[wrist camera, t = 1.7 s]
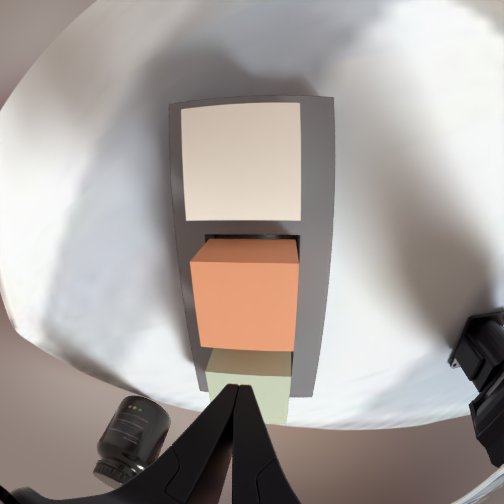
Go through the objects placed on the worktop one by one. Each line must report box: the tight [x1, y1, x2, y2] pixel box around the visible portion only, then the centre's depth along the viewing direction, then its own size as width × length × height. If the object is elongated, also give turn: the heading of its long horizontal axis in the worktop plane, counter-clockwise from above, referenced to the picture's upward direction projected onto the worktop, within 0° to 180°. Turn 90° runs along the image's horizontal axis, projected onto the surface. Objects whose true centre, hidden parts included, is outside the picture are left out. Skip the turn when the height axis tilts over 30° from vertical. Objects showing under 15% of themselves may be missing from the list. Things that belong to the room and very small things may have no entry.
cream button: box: [181, 103, 301, 221], centre depth 14 cm, size 5×5×4 cm
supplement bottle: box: [93, 396, 171, 489], centre depth 23 cm, size 7×7×12 cm
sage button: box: [205, 348, 291, 424], centre depth 19 cm, size 5×5×4 cm
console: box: [169, 95, 335, 397], centre depth 19 cm, size 10×23×2 cm, turn 1°
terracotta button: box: [190, 239, 299, 351], centre depth 16 cm, size 5×5×4 cm
